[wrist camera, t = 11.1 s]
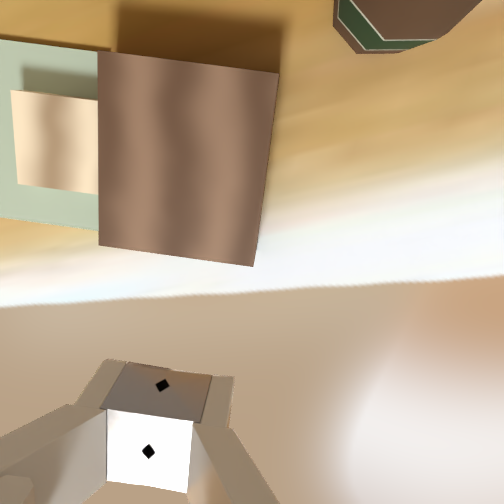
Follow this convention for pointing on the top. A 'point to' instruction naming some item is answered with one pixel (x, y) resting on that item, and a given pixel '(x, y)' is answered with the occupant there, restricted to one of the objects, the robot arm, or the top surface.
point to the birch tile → (56, 140)
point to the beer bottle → (396, 22)
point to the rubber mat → (3, 146)
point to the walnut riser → (182, 156)
